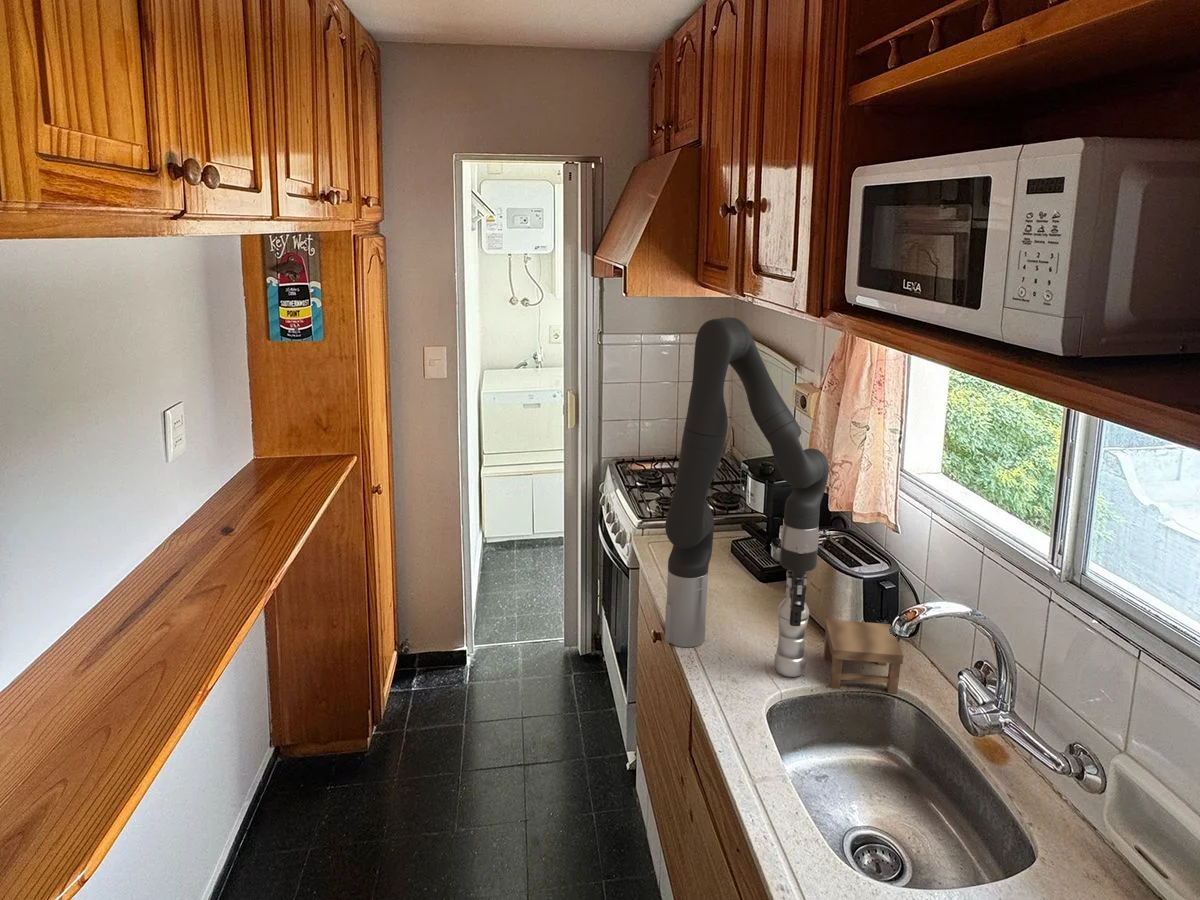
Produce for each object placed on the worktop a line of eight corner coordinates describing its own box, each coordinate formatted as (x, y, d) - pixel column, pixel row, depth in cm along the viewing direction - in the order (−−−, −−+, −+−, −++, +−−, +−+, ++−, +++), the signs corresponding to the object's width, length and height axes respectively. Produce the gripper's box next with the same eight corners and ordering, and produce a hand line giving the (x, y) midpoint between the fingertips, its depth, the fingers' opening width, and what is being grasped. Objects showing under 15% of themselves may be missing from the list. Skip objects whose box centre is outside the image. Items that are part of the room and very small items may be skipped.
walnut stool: (829, 688, 174) (833, 649, 171) (821, 655, 187) (825, 619, 185) (898, 694, 172) (903, 655, 170) (886, 660, 185) (890, 624, 183)
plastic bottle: (805, 682, 176) (813, 596, 171) (772, 678, 177) (779, 592, 172) (804, 667, 182) (811, 583, 177) (773, 663, 183) (779, 580, 178)
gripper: (778, 531, 179) (773, 602, 184) (783, 556, 165) (777, 632, 170) (814, 533, 178) (808, 604, 183) (821, 558, 164) (815, 635, 169)
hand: (793, 617), depth 176 cm, fingers closed on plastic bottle, 6 cm apart
